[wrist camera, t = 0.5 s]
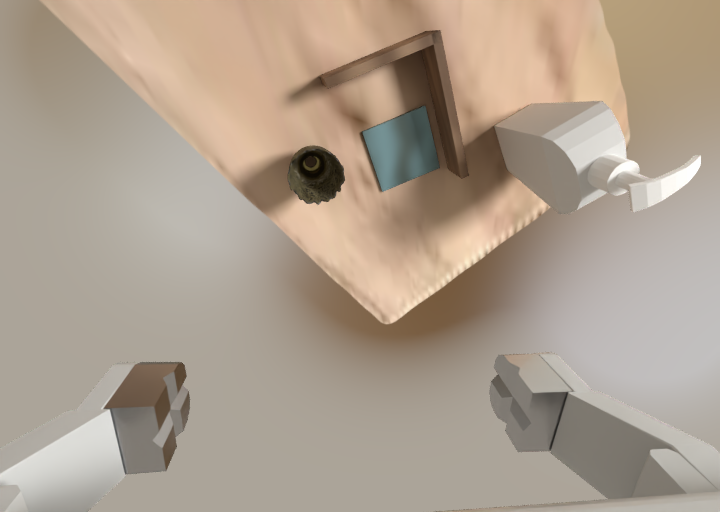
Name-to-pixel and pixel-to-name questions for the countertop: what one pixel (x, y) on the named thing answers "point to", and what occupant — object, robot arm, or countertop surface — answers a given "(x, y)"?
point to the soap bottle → (579, 157)
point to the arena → (410, 116)
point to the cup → (315, 175)
